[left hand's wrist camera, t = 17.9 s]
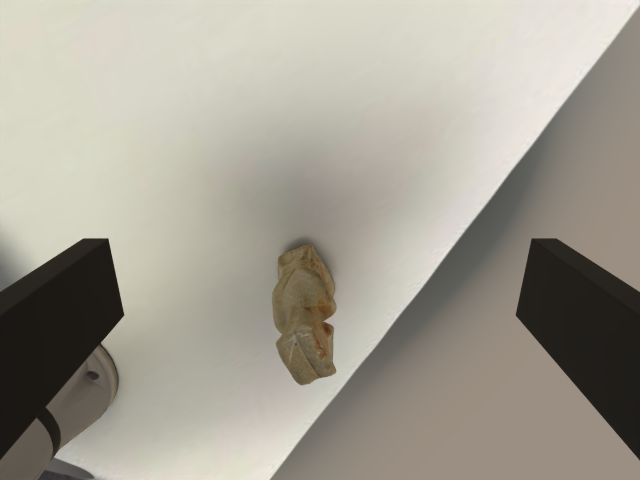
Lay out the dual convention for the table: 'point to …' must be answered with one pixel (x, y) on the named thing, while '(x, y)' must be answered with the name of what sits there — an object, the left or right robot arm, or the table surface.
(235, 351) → the table surface
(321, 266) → the sculpture
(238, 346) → the table surface
